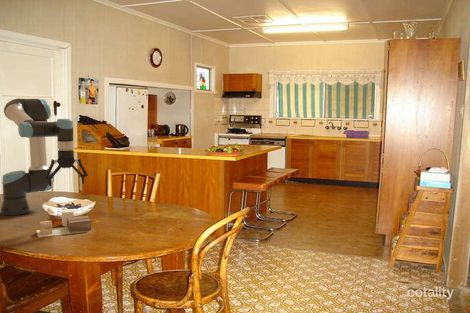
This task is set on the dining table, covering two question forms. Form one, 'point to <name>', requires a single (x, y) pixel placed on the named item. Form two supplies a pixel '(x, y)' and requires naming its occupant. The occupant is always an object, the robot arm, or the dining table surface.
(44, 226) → the oak cube
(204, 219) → the dining table surface
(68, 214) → the white block
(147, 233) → the dining table surface
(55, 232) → the build board
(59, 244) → the dining table surface
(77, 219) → the plinth
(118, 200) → the dining table surface
